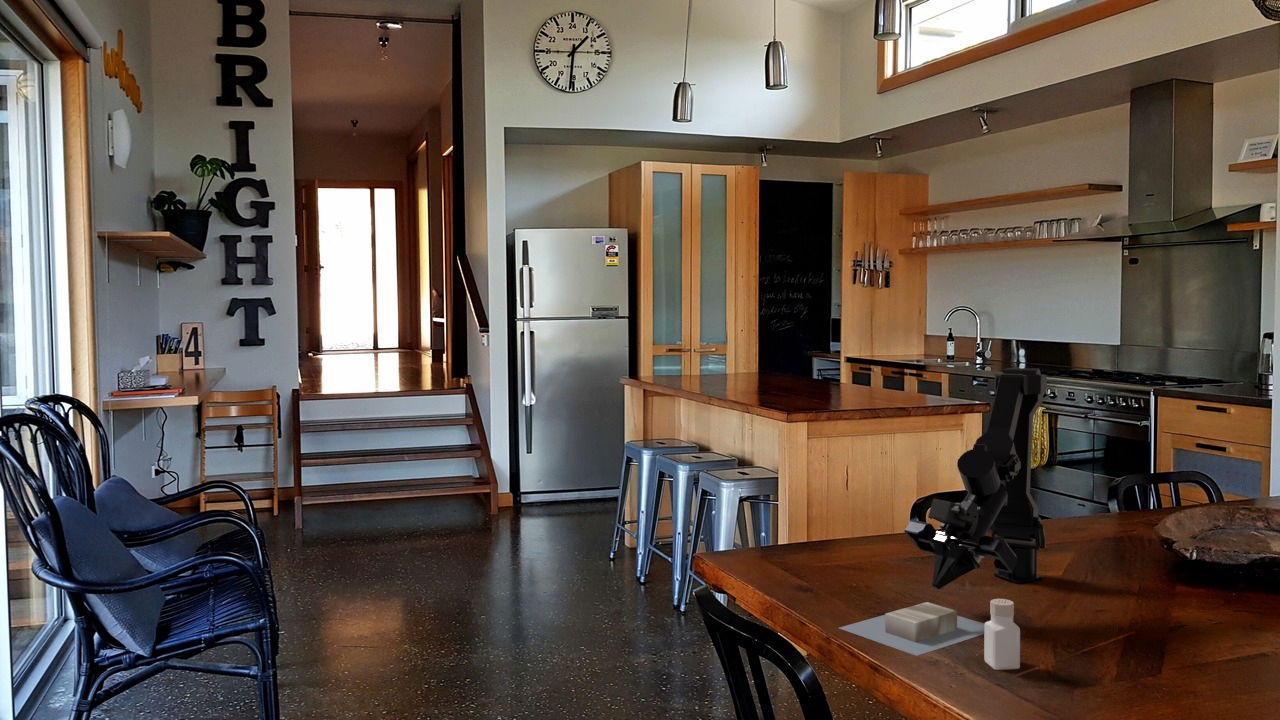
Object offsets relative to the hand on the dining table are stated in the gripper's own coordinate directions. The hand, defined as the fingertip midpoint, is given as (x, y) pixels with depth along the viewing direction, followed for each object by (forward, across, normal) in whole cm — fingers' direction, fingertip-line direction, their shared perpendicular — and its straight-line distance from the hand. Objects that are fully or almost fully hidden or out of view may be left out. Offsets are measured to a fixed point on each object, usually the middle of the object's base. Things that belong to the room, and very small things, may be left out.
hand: (935, 587), depth 163 cm
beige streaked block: (+2, 0, +5) cm, 5 cm away
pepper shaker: (+9, +17, +1) cm, 19 cm away
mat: (+7, -1, +3) cm, 7 cm away
